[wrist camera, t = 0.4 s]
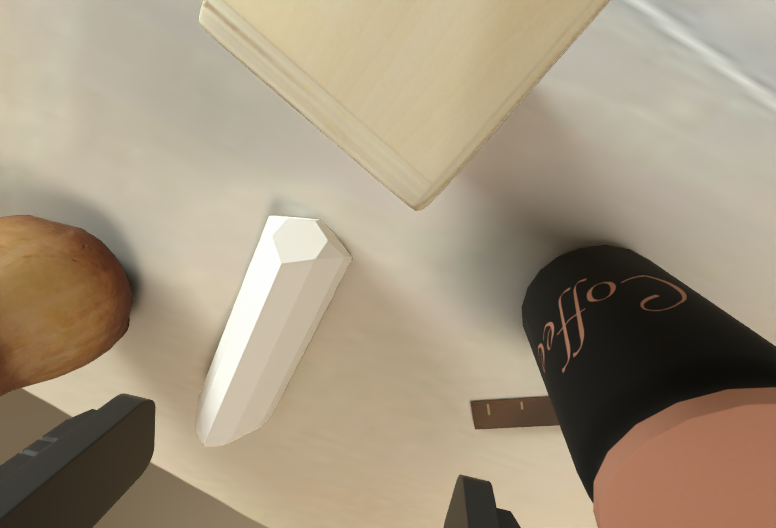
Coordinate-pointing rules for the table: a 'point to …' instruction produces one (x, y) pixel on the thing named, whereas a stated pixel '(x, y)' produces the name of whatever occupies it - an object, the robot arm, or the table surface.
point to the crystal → (269, 326)
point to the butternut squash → (56, 300)
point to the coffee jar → (655, 393)
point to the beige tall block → (401, 72)
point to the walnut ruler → (514, 413)
